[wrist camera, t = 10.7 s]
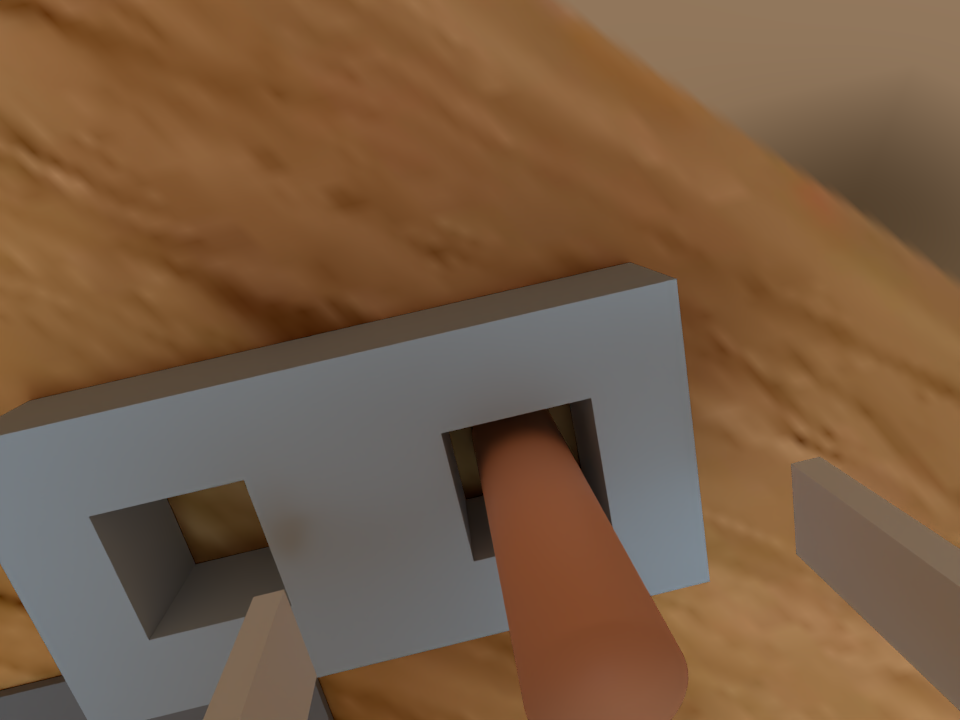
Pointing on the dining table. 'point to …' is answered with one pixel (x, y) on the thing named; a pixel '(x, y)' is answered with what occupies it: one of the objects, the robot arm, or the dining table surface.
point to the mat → (57, 715)
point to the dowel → (570, 585)
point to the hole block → (338, 484)
